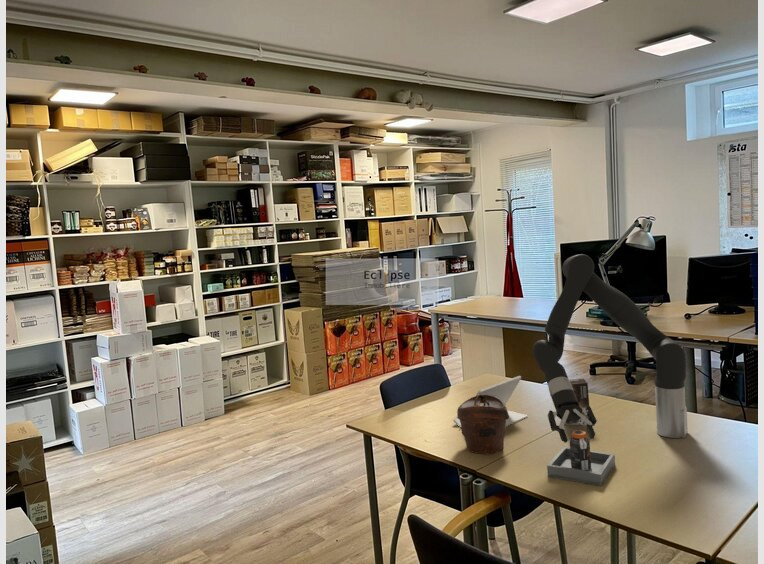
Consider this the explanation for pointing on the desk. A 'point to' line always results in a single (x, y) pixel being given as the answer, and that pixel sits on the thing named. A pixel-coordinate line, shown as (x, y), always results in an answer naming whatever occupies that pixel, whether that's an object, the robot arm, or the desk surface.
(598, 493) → the desk surface
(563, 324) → the robot arm
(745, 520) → the desk surface
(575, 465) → the pill bottle
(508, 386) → the tablet stand
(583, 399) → the coffee box
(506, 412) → the brown tapered container
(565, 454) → the tray
